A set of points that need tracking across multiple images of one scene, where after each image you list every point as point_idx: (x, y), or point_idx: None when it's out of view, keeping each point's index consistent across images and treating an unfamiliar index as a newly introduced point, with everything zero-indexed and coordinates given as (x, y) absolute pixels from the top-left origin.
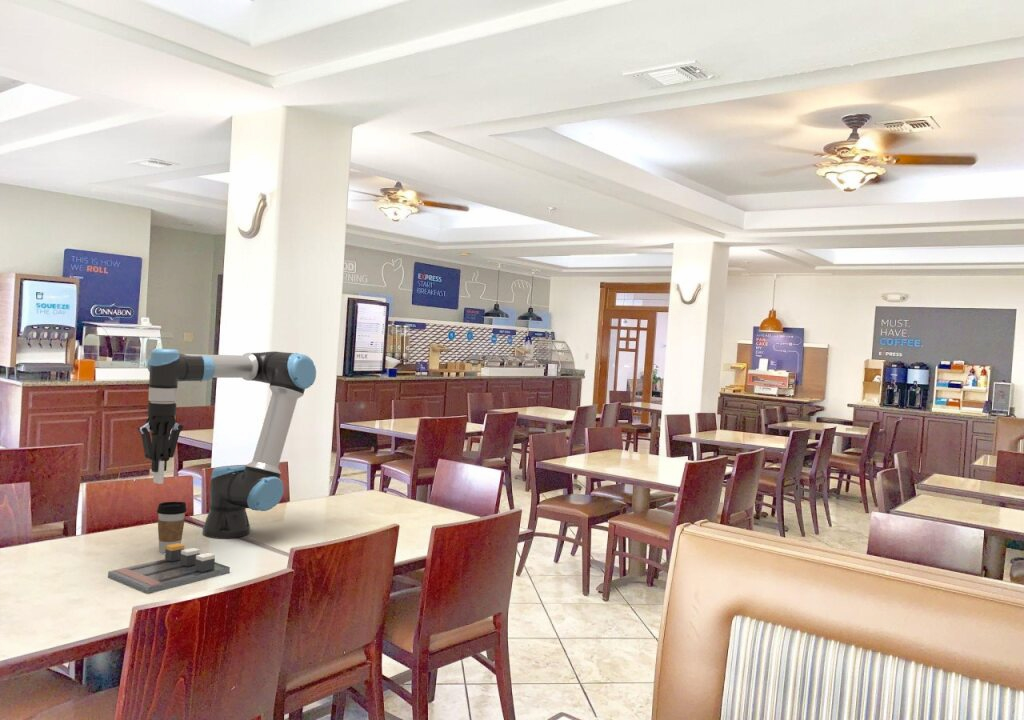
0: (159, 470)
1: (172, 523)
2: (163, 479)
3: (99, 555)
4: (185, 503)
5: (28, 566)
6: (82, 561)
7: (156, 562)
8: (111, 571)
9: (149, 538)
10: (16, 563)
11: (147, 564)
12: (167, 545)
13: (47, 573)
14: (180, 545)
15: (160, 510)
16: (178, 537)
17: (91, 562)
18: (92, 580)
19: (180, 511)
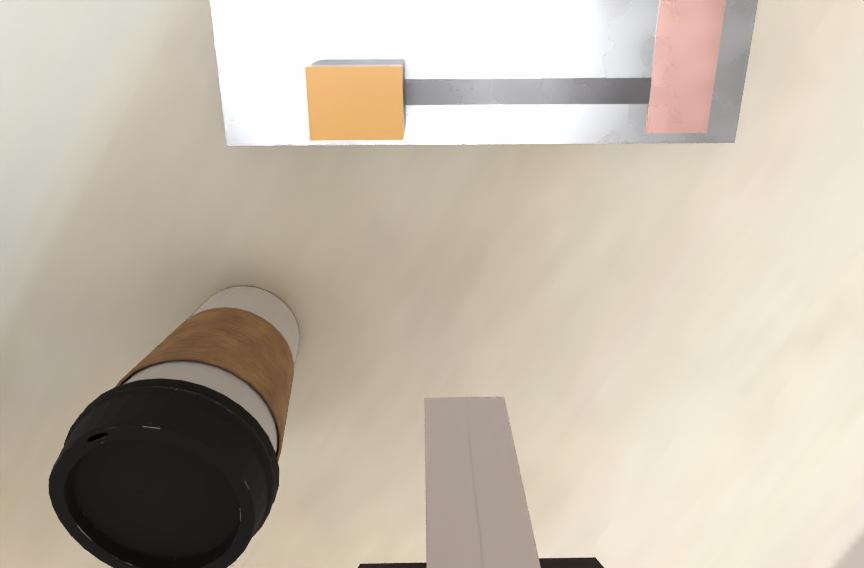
0: (531, 552)
1: (228, 361)
2: (427, 430)
3: (531, 463)
4: (60, 455)
5: (814, 496)
6: (634, 430)
7: (464, 116)
8: (724, 130)
9: None
10: (813, 554)
11: (522, 114)
12: (395, 132)
13: (837, 369)
14: (330, 74)
15: (266, 480)
16: (206, 315)
17: (618, 395)
18: (797, 142)
19: (147, 388)
